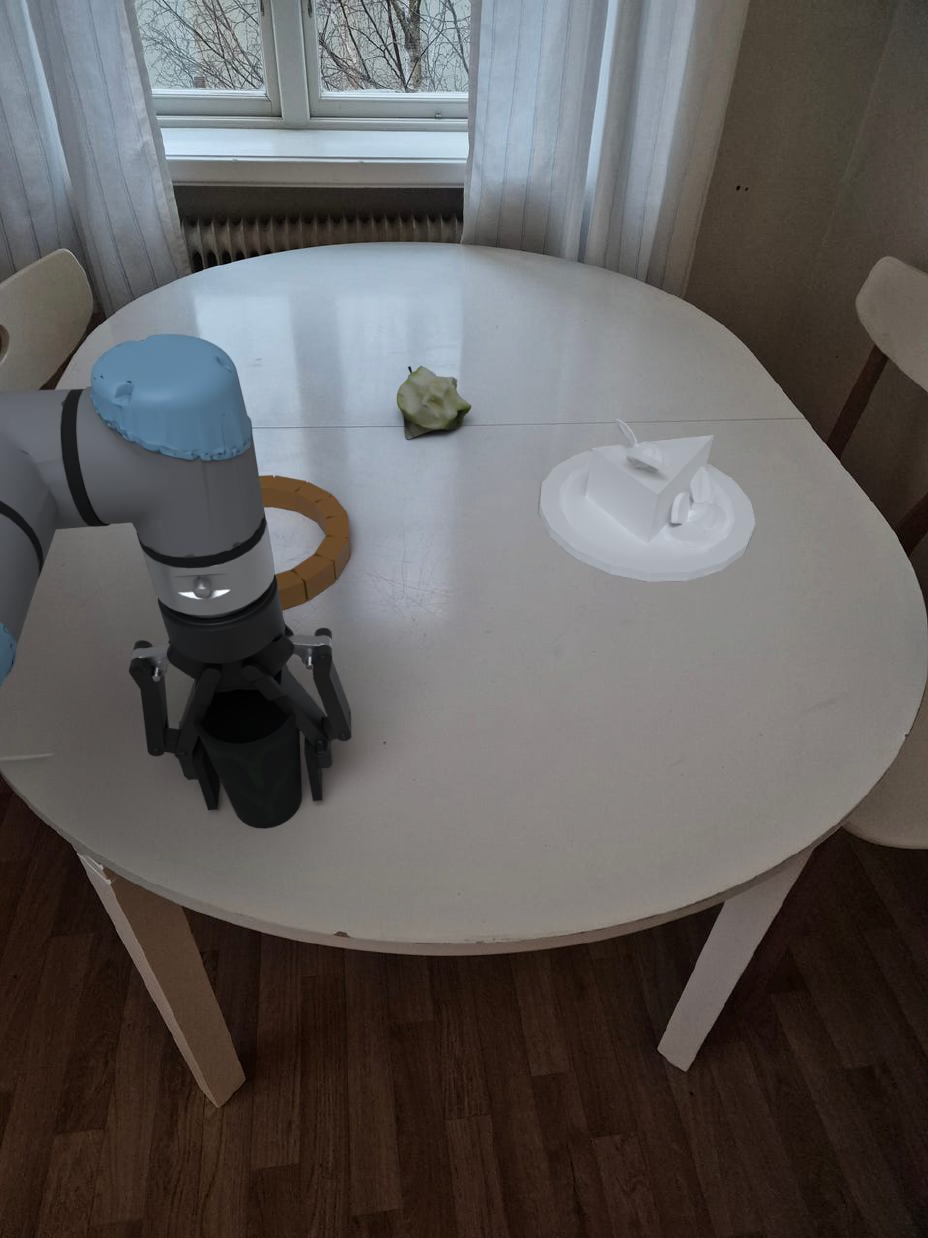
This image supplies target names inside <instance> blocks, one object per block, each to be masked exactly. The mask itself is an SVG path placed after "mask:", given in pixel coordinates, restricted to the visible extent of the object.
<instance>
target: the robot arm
mask: <svg viewBox="0 0 928 1238" xmlns="http://www.w3.org/2000/svg"><path fill="white" fill-rule="evenodd" d="M245 403H246V402H245V399H244V395H243V391H242V387H241V382H240V377H239V373H238V369H237V367H236V365H235V362H234V361H233V359H232V357H231V356H230V355H229V354H228V353H227V352H226V351H225V350H223V348H221V347H220V346H218V345H216V344H214V343H213V342H211V341H209V340H206V339H203V338H200V337H197V336H194V335H187V334H176V333H164V334H163V333H161V334H152V335H151V334H150V335H149V336H148V337H146V338H145V339H141V340H127V341H124V342H121V343H119V344H117V345H115V346H112V347H111V348H109V349H108V350H106V351H104V353H102V354H101V355H100V356H99V357H98V359H97V360H96V361H95V362H94V363H93V366H92V369H91V372H90V386H86V387H85V388H67V389H64V388H63V389H37V390H36V389H35V390H7V391H6V390H5V391H0V689H1V688H2V686H3V684H4V682H5V679H7V678H8V677H9V675H10V673H11V672H12V670H13V668H14V666H15V664H16V662H17V661H16V660H17V659H16V656H17V649H18V644H19V641H20V638H21V635H22V632H23V628H24V625H25V622H26V619H27V616H28V612H29V609H30V606H31V603H32V600H33V596H34V593H35V590H36V587H37V584H38V580H39V579H40V576H41V574H42V571H43V569H44V565H45V562H46V559H47V558H48V554H49V551H50V549H51V546H52V543H53V539H54V537H55V534H56V531H57V530H67V529H68V530H69V529H77V528H80V529H81V528H91V527H92V528H96V527H97V528H98V527H99V528H100V527H108V526H111V525H118V524H132V525H133V528H134V530H135V532H136V536H137V540H138V543H139V545H140V549H141V553H142V555H143V559H144V561H145V565H146V568H147V571H148V574H149V578H150V580H151V584H152V586H153V590H154V593H155V596H156V597H157V604H158V608H159V612H160V614H161V618H162V621H163V624H164V628H165V630H166V633H167V634H166V635H167V636H168V643H163V644H159V645H155V646H154V645H153V644H152V643H151V642H150V641H148V640H144V639H141V640H137V641H135V643H134V646H133V650H132V652H131V653H132V654H131V658H130V664H129V667H128V673H129V675H130V676H131V678H132V679H133V681H134V682H135V684H136V685H137V686H138V689H139V690H140V698H141V699H140V700H141V705H142V707H141V708H142V715H143V723H144V732H145V741H146V749H147V750H146V751H147V753H148V754H149V755H150V756H153V757H161V756H163V755H165V753H168V754H173V755H174V757H175V758H176V759H178V762H179V765H180V768H181V771H182V773H183V776H184V777H185V779H187V781H192V780H193V781H194V780H197V781H198V784H199V787H200V790H201V793H202V796H203V799H204V803H205V806H206V809H207V811H216V810H219V799H220V790H221V781H220V778H219V776H218V774H217V772H216V770H215V768H214V766H213V764H212V762H211V759H210V757H209V755H208V753H207V751H206V749H205V747H204V745H203V743H202V740H201V738H200V736H199V734H198V732H197V730H196V728H195V726H194V724H193V723H194V722H200V724H201V726H202V723H203V720H204V718H205V715H206V712H207V709H208V706H210V704H211V701H212V698H213V695H214V692H215V690H216V693H219V692H229V691H233V690H237V689H243V690H259V691H260V692H261V693H262V694H263V696H264V697H265V698H266V699H267V700H268V701H272V700H273V701H274V702H275V703H276V704H277V706H278V707H279V708H280V709H281V710H282V711H283V712H284V713H285V715H286V716H287V717H288V718H289V716H290V715H291V714H295V715H296V727H297V728H298V729H299V730H300V734H302V735H303V736H304V742H303V743H304V745H303V746H304V747H303V754H304V758H305V764H306V770H307V777H308V780H309V786H310V787H309V788H310V793H311V798H312V802H319V801H323V770H324V769H331V767H332V765H333V746H332V745H333V744H332V742H333V741H335V740H338V741H339V742H347V741H350V740H351V739H352V737H353V735H352V709H351V708H350V705H349V701H348V699H347V696H346V694H345V691H344V687H343V685H342V682H341V679H340V676H339V673H338V671H337V668H336V665H335V662H334V660H333V632H332V631H331V629H329V628H327V627H319V628H317V629H316V631H315V632H314V635H305V634H295V633H294V631H293V630H292V629H291V627H289V626H288V625H287V623H286V621H285V618H284V613H283V610H282V607H281V601H280V595H279V589H278V583H277V579H276V576H275V574H276V568H275V567H276V566H275V562H274V555H273V554H274V553H273V549H272V543H271V537H270V532H269V531H270V530H269V525H268V521H267V518H266V517H267V516H266V512H265V507H264V505H263V499H262V492H261V486H260V479H259V476H260V475H259V474H260V473H259V467H258V466H259V465H258V462H257V460H258V459H257V453H256V446H255V441H254V433H253V422H252V420H251V419H252V418H251V417H250V416H249V415H248V412H247V411H248V410H247V407H246V404H245ZM293 655H296V656H298V657H300V659H301V662H302V664H304V665H305V668H306V669H307V670H308V671H312V679H313V682H314V686H315V688H316V690H317V693H318V695H319V698H320V702H321V703H322V706H323V709H324V711H323V710H322V708H321V707H320V706H319V704H318V703H317V702H316V701H315V700H314V698H313V697H312V696H311V695H310V694H309V692H307V690H306V689H305V688H304V687H303V685H302V684H301V683H300V682H299V681H298V679H297V678H296V677H295V676H294V675H293V673H292V672H291V671H290V670H289V668H288V664H287V663H288V661H289V660H290V659H291V658H292V656H293ZM169 664H170V665H172V666H173V667H174V668H176V669H178V670H179V671H181V672H183V673H184V674H185V675H186V676H189V677H190V678H191V679H192V680H193V682H192V686H191V689H190V692H189V695H188V698H187V701H186V703H185V707H184V711H183V713H182V716H181V719H180V720H179V723H178V727H177V728H175V727H170V723H169V722H170V721H169V712H168V701H167V699H168V698H167V690H166V689H167V688H166V680H165V679H166V678H165V677H166V676H165V675H166V674H167V672H168V666H169Z"/></svg>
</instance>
